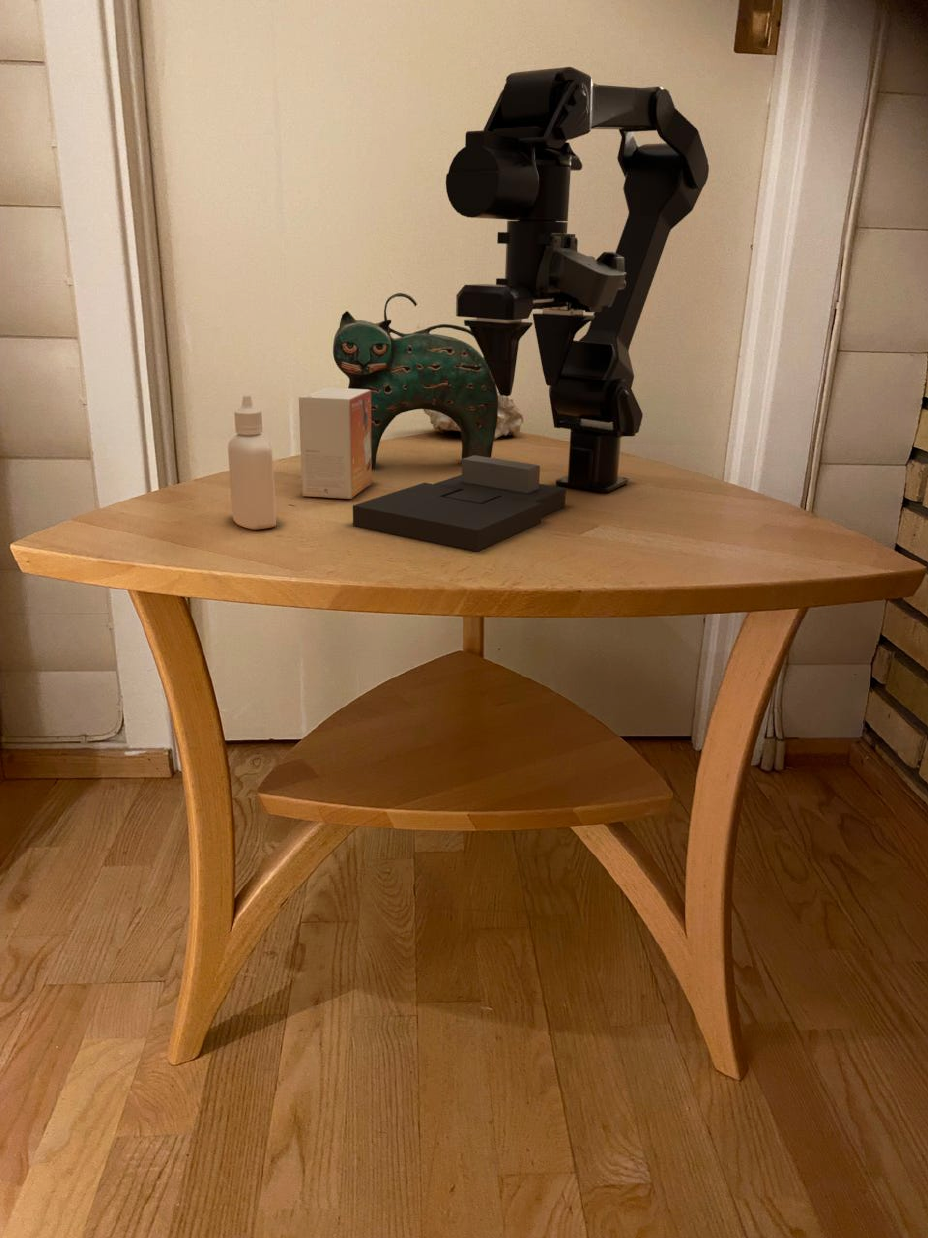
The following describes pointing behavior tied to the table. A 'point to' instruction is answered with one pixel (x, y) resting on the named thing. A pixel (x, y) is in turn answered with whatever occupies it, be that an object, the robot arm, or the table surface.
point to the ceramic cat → (419, 378)
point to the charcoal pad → (446, 517)
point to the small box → (335, 442)
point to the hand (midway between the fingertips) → (529, 390)
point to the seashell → (506, 421)
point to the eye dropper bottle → (251, 471)
